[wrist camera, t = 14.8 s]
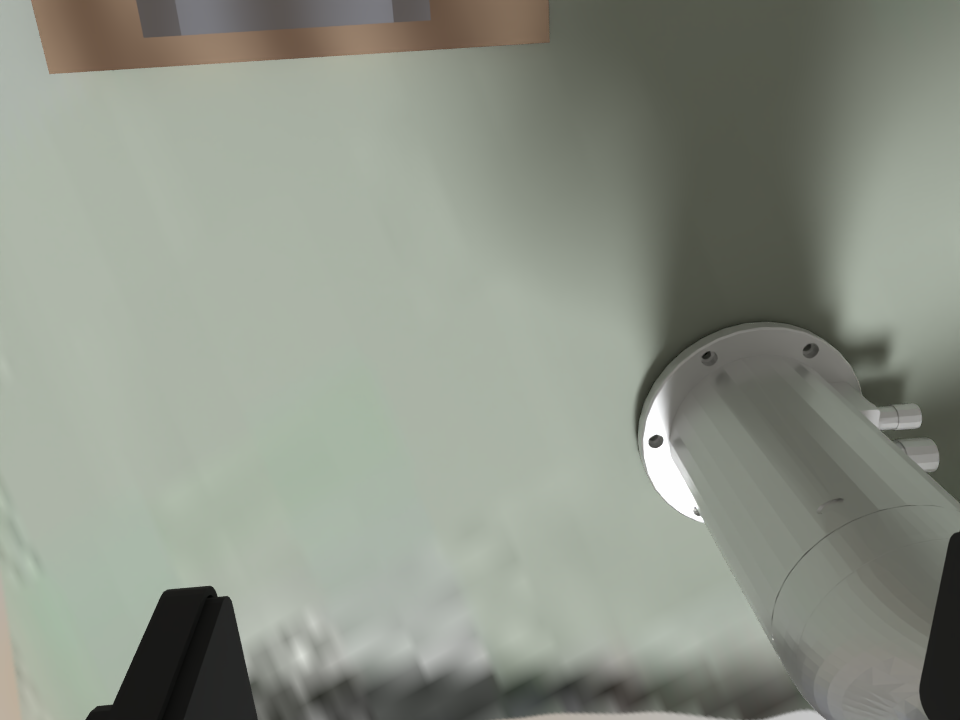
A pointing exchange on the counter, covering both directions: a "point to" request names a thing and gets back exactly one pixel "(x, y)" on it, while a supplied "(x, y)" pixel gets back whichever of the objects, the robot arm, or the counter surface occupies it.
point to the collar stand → (271, 29)
